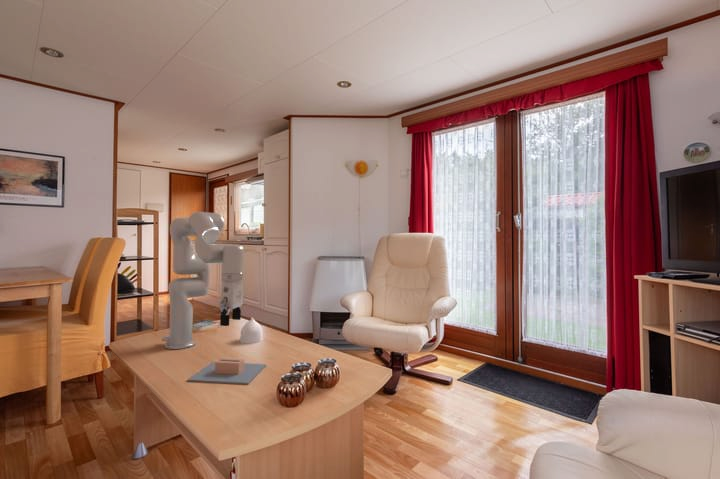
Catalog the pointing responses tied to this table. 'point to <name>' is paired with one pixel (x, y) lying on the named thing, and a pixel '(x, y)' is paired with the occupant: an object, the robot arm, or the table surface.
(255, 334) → the white rounded dome
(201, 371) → the mat
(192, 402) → the table surface
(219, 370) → the pinkish tan grooved block
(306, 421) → the table surface
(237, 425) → the table surface
